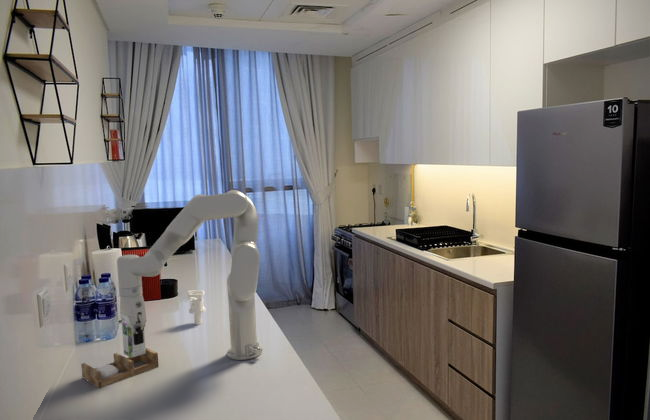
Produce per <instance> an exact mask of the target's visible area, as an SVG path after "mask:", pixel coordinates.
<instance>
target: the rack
mask: <svg viewBox="0 0 650 420" xmlns="http://www.w3.org/2000/svg"><path fill="white" fill-rule="evenodd" d="M145 349H146V353H145V354H142V355H139V356H136V357H132V358H130V357H128V356H127V357H125V356H124V355H122V354H120V353H118V352H116V353H113V362H109V363H106V365H113V366H115V367H116V368H117V369H118V370H119V371H120V373H119V374H117V375H114V376H111V377H108V378H105V379H102V380H101V372H99V371H98V370H96V369H97V367H95V368H94V367H93V366H90V365H88V364H87V363H86V362H83V363H81V374H82V375H81V376H82V378H83V377H84V378H85V379H86V380H88V381H89V382H90V383H89V382H88V381H87V382H88V383H89V384H91V383H92V384H91V385H92V386H94V387H96V388H97V389H100V388H103V387H106V386H109V385H113V384H114V383H117V382H120V381H123V380H126V379H128V378H132V377H133V376H137V375H139V374H140V375H141V374H143V373H145V372H148V371H150V370H153V369H157V368H159V366H160V365H159V353H158V352H157V351H155V350H152V349H150V348H147V347H145ZM139 361H141V362H143V363H145V364H143V365H139V366H137V367H135V368H134V363H136V362H139ZM86 380H85V381H86Z"/></svg>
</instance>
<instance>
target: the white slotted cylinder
mask: <svg viewBox="0 0 650 420" xmlns="http://www.w3.org/2000/svg"><path fill="white" fill-rule="evenodd" d="M205 295H206V294H205V291H204V290H194V289H192V290H187V298H188V300H189V302H190V305H189V306H190V308H189V309H188V313H190V314H193V318H194V320H193V321H194V325H197V326H198V325H201V324H203V323H202V318H203V317H202V313H203V314H204V313H205V312H207V309H206V307H205V306H204V304H205V303H204V297H203V296H205Z"/></svg>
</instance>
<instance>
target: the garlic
mask: <svg viewBox="0 0 650 420" xmlns="http://www.w3.org/2000/svg"><path fill="white" fill-rule="evenodd" d="M96 368H97V369H96V370H98V371H99V372H101V380H102V379H105V378H108V377H111V376H114V375H117V374H120V373H119V371H120V370H118V369H117V368H116V367H115V366H113V365H107V364H102V365H100V366H97V367H96Z"/></svg>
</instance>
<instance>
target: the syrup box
mask: <svg viewBox="0 0 650 420" xmlns="http://www.w3.org/2000/svg"><path fill="white" fill-rule="evenodd" d="M138 323H139V322H136V324H138ZM136 327H137V328H138V327H139V325H138V326H136ZM121 329H122V347H123V355H125V356H127V358H128V357H130V358H132V357H136V356H139V355H142V354H145V353H146V349H145V348H146V334H145V330H144V332H143V339H144V342H143V343H141V344H138V345H134V333H135V332H134V328H133V325H131V321H130V317H129V316H126V315H123V314H122V320H121Z"/></svg>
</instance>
